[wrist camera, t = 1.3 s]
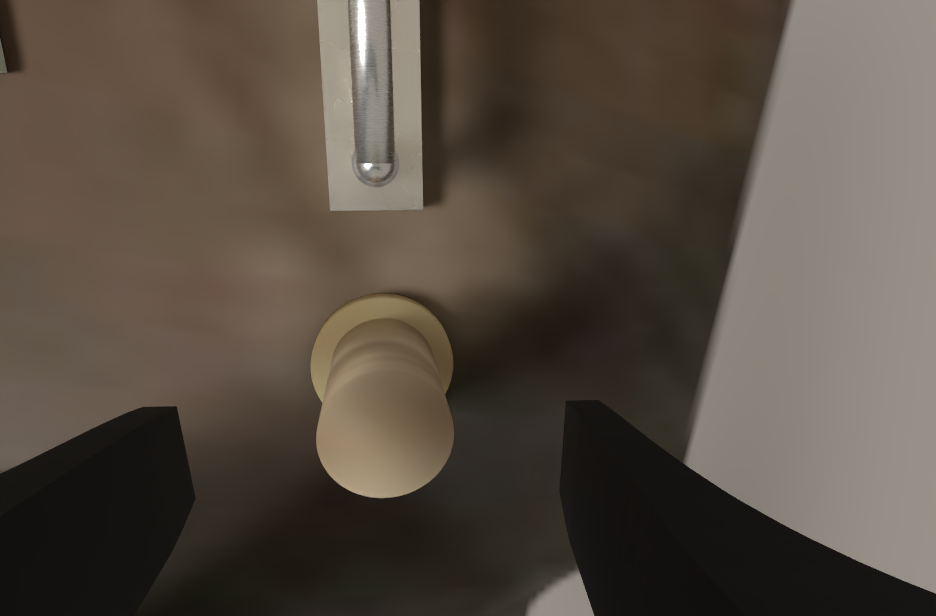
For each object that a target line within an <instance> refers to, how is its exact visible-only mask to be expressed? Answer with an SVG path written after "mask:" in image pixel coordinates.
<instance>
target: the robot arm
mask: <svg viewBox="0 0 936 616" xmlns="http://www.w3.org/2000/svg"><path fill="white" fill-rule="evenodd" d="M560 496H561V501H562V507H563V512H564V517H565V522H566V527H567V531H568V536H569V541H570V544H571V547H572V550H573V553H574V556H575V559H576V562H577V565H578V568H579V571H580V574H581V577H582V580H583V583H584V586H585V589H586V592H587V595H588V598H589V601H590V604H591V607H592V610H593V613H594V616H936V594H935V593H933V592H930V591H927V590H925V589H922V588H920V587H917V586H915V585H912V584H910V583H907V582H905V581H902V580H900V579H897V578H895V577H893V576H890V575H888V574H886V573H883V572H881V571H879V570H877V569H874V568H872V567H870V566H867V565H865V564H863V563H861V562H858V561H856V560H854V559H852V558H850V557H847V556H846V555H843V554H841V553H839V552H837V551H835V550H833V549H831V548H829V547H827V546H824V545H822V544H820V543H818V542H816V541H814V540H812V539H810V538H808V537H806V536H804V535H802V534H800V533H798V532H796V531H794V530H792V529H790V528H788V527H786V526H784V525H783V524H781V523H779V522H777V521H775V520H774V519H772V518H770V517H768V516H766V515H765V514H763V513H761V512H759V511H758V510H756V509H754V508H752V507H750V506H749V505H747V504H745V503H743V502H742V501H740V500H738V499H737V498H735V497H733V496H732V495H730V494H728V493H727V492H725V491H724V490H722V489H720V488H719V487H717V486H716V485H714V484H713V483H711V482H710V481H708V480H707V479H705V478H704V477H702V476H701V475H699V474H698V473H696V472H695V471H693V470H692V469H690V468H689V467H687V466H686V465H685V464H683V463H682V462H680V461H679V460H677V459H676V458H675V457H673V456H672V455H670V454H669V453H668V452H666V451H665V450H664V449H662V448H661V447H660V446H658V445H657V444H656V443H654V442H653V441H652V440H650V439H649V438H648V437H646V436H645V435H644V434H642V433H641V432H640V431H639V430H637V429H636V428H635V427H633V426H632V425H631V424H630V423H628V422H627V421H626V420H624V419H623V418H622V417H621V416H619V415H618V414H617V413H615V412H614V411H613V410H612V409H610V408H609V407H608V406H606V405H605V404H603V403H602V402H600V401H599V400H578V401H566V409H565V423H564V437H563V450H562V464H561V477H560ZM194 501H195V494H194V489H193V484H192V479H191V474H190V470H189V465H188V460H187V455H186V450H185V445H184V440H183V435H182V430H181V425H180V421H179V416H178V411H177V406H174V407H142V408H139V409H136V410H133V411H131V412H128V413H126V414H123V415H121V416H119V417H117V418H114V419H112V420H110V421H108V422H106V423H104V424H101V425H99V426H97V427H95V428H93V429H91V430H89V431H87V432H85V433H83V434H81V435H79V436H77V437H75V438H73V439H71V440H69V441H67V442H65V443H63V444H61V445H59V446H57V447H55V448H53V449H51V450H48V451H46V452H44V453H42V454H40V455H38V456H36V457H34V458H32V459H30V460H28V461H26V462H24V463H22V464H20V465H18V466H16V467H14V468H12V469H10V470H7V471H5V472H3V473H1V474H0V616H133V615H134V614H135V612H136V611H137V609H138V607H139V606H140V604H141V602H142V601H143V599H144V597H145V596H146V594H147V593H148V591H149V589H150V588H151V586H152V584H153V583H154V581H155V579H156V578H157V576H158V574H159V573H160V571H161V569H162V568H163V566H164V564H165V563H166V561H167V559H168V557H169V556H170V554H171V552H172V551H173V549H174V547H175V544H176V542H177V540H178V538H179V536H180V533H181V531H182V529H183V527H184V525H185V522H186V520H187V517H188V515H189V513H190V510H191V508H192V505H193V503H194Z"/></svg>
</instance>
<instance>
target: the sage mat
mask: <svg viewBox="0 0 936 616" xmlns="http://www.w3.org/2000/svg"><path fill="white" fill-rule="evenodd" d="M0 73H7V69H6V64H5V59H4V54H3V49H2V44H1V39H0Z"/></svg>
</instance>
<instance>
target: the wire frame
mask: <svg viewBox="0 0 936 616" xmlns="http://www.w3.org/2000/svg"><path fill="white" fill-rule="evenodd" d="M317 4H318V20H319V37H320V53H321V69H322V85H323V102H324V118H325V134H326V150H327V167H328V183H329V199H330V211H349V210H423V177H422V121H421V65H420V9H419V0H317Z"/></svg>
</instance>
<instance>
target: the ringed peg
mask: <svg viewBox="0 0 936 616" xmlns="http://www.w3.org/2000/svg"><path fill="white" fill-rule="evenodd" d="M452 373H453V354H452V349H451V345H450V342H449V340H448V337H447V335H446V332H445V330H444V328H443V327H442V325H441V323H440V322H439V320H438V319H437V318H436V317H435V316H434V314H433V313H432V312H431V311H430V310H428V309H427V308H426V307H424V306H423V305H421V304H420V303H418V302H416V301H414V300H412V299H410V298H408V297H404V296H401V295H396V294H387V293H379V294H370V295H366V296H362V297H359V298H356V299H353V300H351V301H350V302H348V303H346V304H344V305H343V306H341V307H340V308H338V309H337V310H336V311H335V312H334V313H333V314H332V315H331V316H330V317H329V318H328V319H327V320H326V322H325V323H324V325H323V326H322V328H321V329H320V331H319V334H318V336H317V338H316V341H315V344H314V348H313V351H312V356H311V377H312V382H313V385H314V388H315V390H316V393H317V395H318V397H319V398H320V400H321V401H322V403H323V404H322V408H321V413H320V418H319V422H318V427H317V434H316V445H317V451H318V455H319V458H320V460H321V462H322V465H323V467H324V468H325V470H326V471H327V473H328V474H329V475H330V476H331V477H332V478H333V479H334V480H335V481H336V482H337V483H338V484H340V485H341V486H343V487H344V488H346V489H347V490H349V491H352V492H354V493H356V494H359V495H362V496H367V497H373V498H390V497H397V496H401V495H405V494H408V493H410V492H413V491H415V490H417V489H419V488H421V487H422V486H424V485H425V484H427V483H428V482H430V481H431V480H432V479H433V478H434V477H435V476H436V475H437V474H438V473H439V472H440V471H441V469H442V468H443V466H444V465H445V463H446V462H447V460H448V458H449V456H450V453H451V450H452V446H453V441H454V425H453V420H452V416H451V413H450V410H449V406H448V403H447V400H446V396H445V394H446V392H447V390H448V387H449V385H450V382H451V378H452Z"/></svg>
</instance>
